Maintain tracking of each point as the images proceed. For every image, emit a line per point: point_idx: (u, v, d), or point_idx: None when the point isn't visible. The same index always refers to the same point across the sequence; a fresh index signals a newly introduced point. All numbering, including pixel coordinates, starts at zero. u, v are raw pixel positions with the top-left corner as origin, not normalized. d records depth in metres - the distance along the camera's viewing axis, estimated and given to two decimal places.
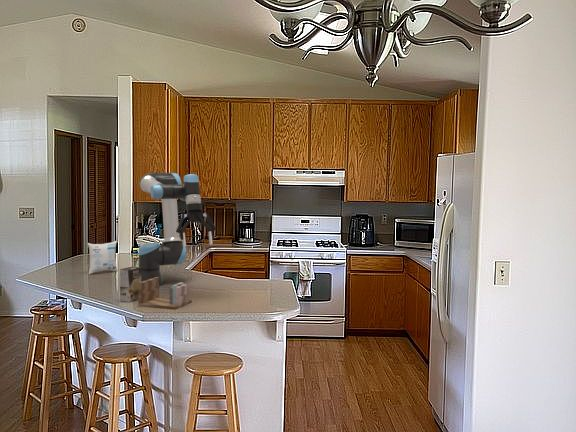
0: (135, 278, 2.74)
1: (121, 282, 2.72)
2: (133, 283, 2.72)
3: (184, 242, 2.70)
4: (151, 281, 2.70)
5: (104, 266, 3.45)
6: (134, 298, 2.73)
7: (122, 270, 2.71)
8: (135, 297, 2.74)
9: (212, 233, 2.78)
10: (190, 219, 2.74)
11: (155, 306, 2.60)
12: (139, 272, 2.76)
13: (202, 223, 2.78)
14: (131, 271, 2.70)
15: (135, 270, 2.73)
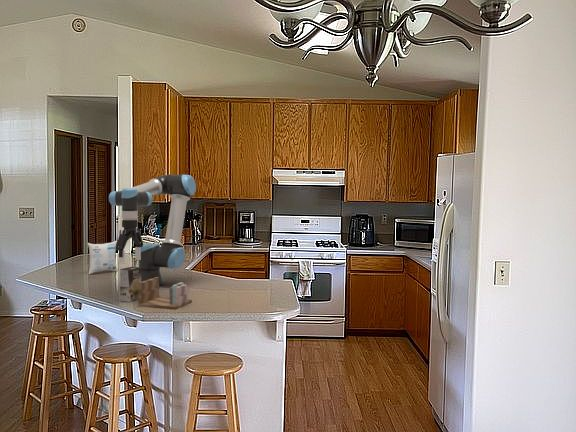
0: (135, 278, 2.74)
1: (121, 282, 2.72)
2: (133, 283, 2.72)
3: None
4: (151, 281, 2.70)
5: (104, 266, 3.45)
6: (134, 298, 2.73)
7: (122, 270, 2.71)
8: (135, 297, 2.74)
9: (119, 252, 2.66)
10: None
11: (155, 306, 2.60)
12: (139, 272, 2.76)
13: None
14: (131, 271, 2.70)
15: (135, 270, 2.73)
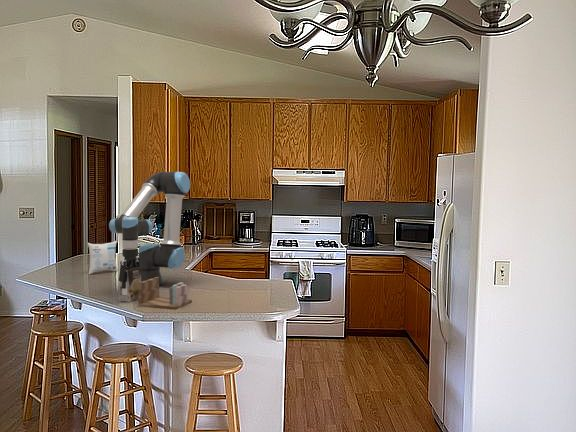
0: (135, 278, 2.74)
1: (121, 282, 2.72)
2: (133, 283, 2.72)
3: None
4: (151, 281, 2.70)
5: (104, 266, 3.45)
6: (134, 298, 2.73)
7: None
8: (135, 297, 2.74)
9: (122, 284, 2.69)
10: None
11: (155, 306, 2.60)
12: (139, 272, 2.76)
13: None
14: (131, 271, 2.70)
15: (135, 270, 2.73)
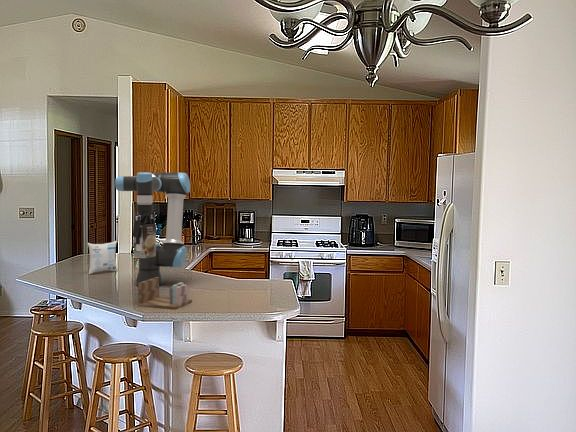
0: (150, 235, 2.68)
1: (135, 238, 2.66)
2: (147, 239, 2.66)
3: None
4: (151, 281, 2.70)
5: (104, 266, 3.45)
6: (148, 254, 2.67)
7: None
8: (149, 254, 2.68)
9: (136, 239, 2.63)
10: None
11: (155, 306, 2.60)
12: (153, 229, 2.70)
13: None
14: (145, 227, 2.64)
15: (149, 226, 2.67)
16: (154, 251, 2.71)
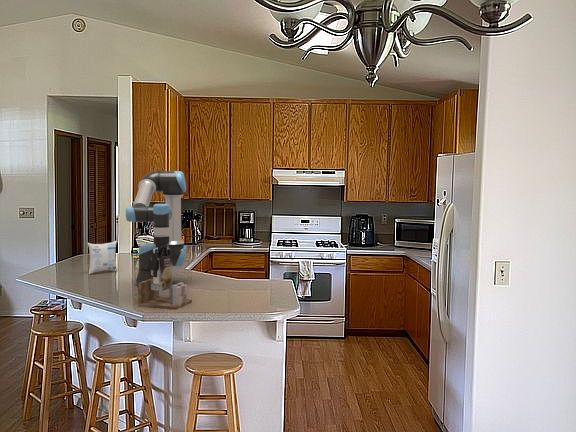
0: (167, 267, 2.65)
1: (152, 270, 2.63)
2: (165, 271, 2.64)
3: None
4: None
5: (104, 266, 3.45)
6: (165, 287, 2.65)
7: None
8: (166, 286, 2.65)
9: None
10: None
11: (155, 306, 2.60)
12: (170, 260, 2.68)
13: None
14: (163, 259, 2.62)
15: (166, 258, 2.65)
16: (171, 283, 2.69)
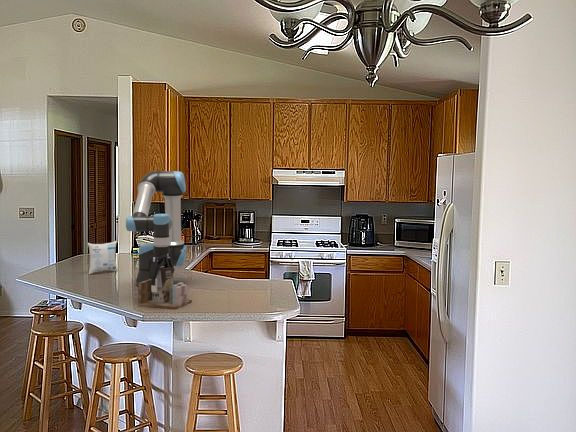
0: (168, 279, 2.67)
1: None
2: (166, 284, 2.65)
3: None
4: None
5: (104, 266, 3.45)
6: (166, 299, 2.66)
7: None
8: (167, 298, 2.67)
9: None
10: None
11: (155, 306, 2.60)
12: (171, 272, 2.69)
13: None
14: (164, 271, 2.64)
15: (168, 270, 2.66)
16: None
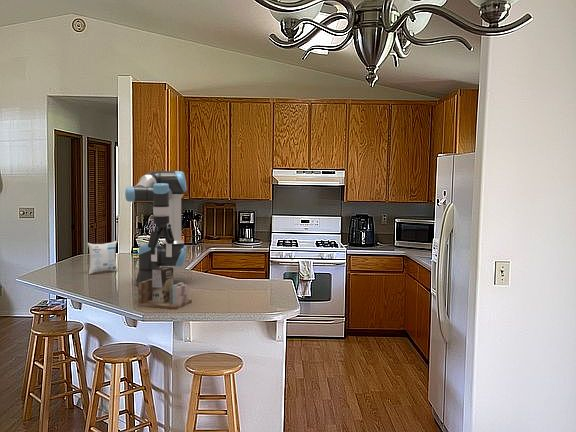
0: (168, 279, 2.67)
1: (154, 283, 2.65)
2: (166, 284, 2.65)
3: None
4: (151, 281, 2.70)
5: (104, 266, 3.45)
6: (166, 299, 2.66)
7: (155, 270, 2.64)
8: (167, 298, 2.67)
9: (151, 250, 2.59)
10: None
11: (155, 306, 2.60)
12: (171, 272, 2.69)
13: None
14: (164, 271, 2.64)
15: (168, 270, 2.66)
16: None
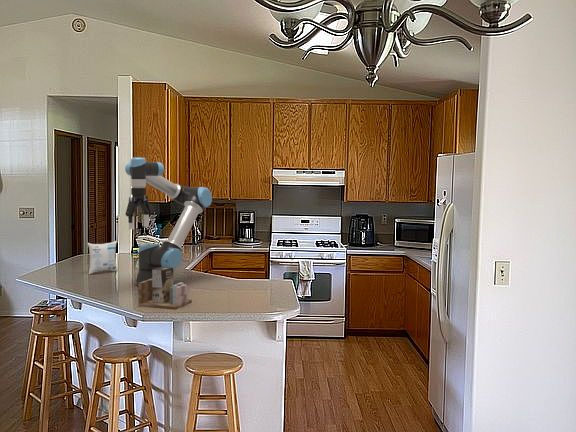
0: (168, 279, 2.67)
1: (154, 283, 2.65)
2: (166, 284, 2.65)
3: (144, 223, 2.94)
4: (151, 281, 2.70)
5: (104, 266, 3.45)
6: (166, 299, 2.66)
7: (155, 270, 2.64)
8: (167, 298, 2.67)
9: None
10: None
11: (155, 306, 2.60)
12: (171, 272, 2.69)
13: None
14: (164, 271, 2.64)
15: (168, 270, 2.66)
16: None
